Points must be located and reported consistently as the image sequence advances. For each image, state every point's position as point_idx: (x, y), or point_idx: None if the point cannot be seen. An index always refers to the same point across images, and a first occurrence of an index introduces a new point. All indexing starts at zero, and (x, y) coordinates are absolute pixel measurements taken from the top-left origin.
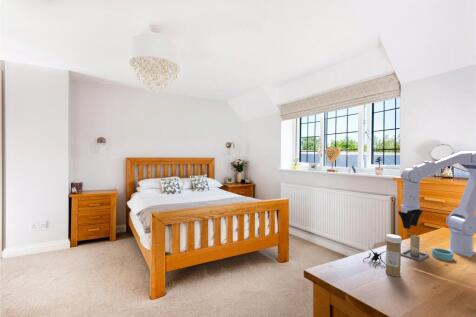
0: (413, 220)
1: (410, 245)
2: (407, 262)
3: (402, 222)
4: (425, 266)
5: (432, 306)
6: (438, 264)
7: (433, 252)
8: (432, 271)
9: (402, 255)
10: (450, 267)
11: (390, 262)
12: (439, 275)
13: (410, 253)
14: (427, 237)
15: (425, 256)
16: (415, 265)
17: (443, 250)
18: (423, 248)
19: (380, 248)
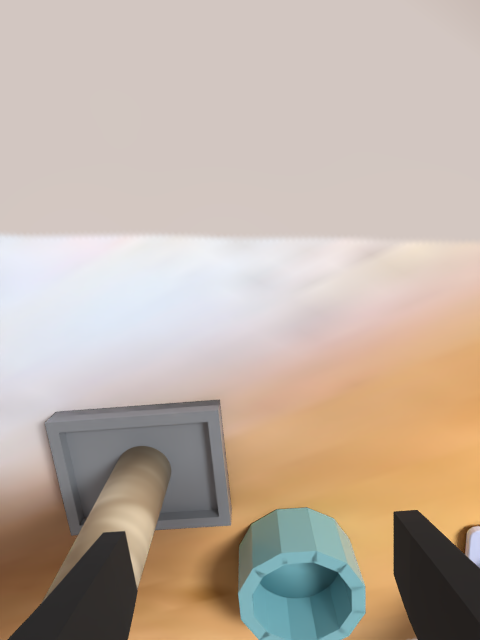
0: (442, 634)
1: (98, 503)
2: (10, 479)
3: (36, 610)
4: (60, 552)
5: None
6: (167, 574)
7: (250, 560)
8: (28, 592)
9: (52, 434)
10: (185, 617)
11: None
12: (13, 624)
13: (117, 462)
14: None
15: (170, 528)
16: (15, 520)
17: (350, 588)
18: (408, 419)
19: (71, 243)
